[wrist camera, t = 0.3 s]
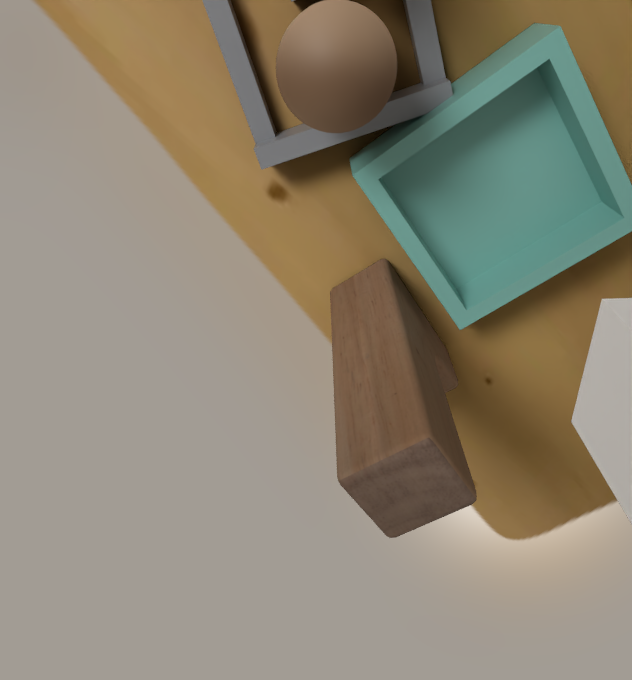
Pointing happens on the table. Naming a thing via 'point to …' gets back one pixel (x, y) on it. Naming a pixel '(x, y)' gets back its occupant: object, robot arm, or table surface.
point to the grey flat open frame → (303, 137)
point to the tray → (501, 178)
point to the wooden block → (394, 406)
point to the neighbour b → (336, 66)
